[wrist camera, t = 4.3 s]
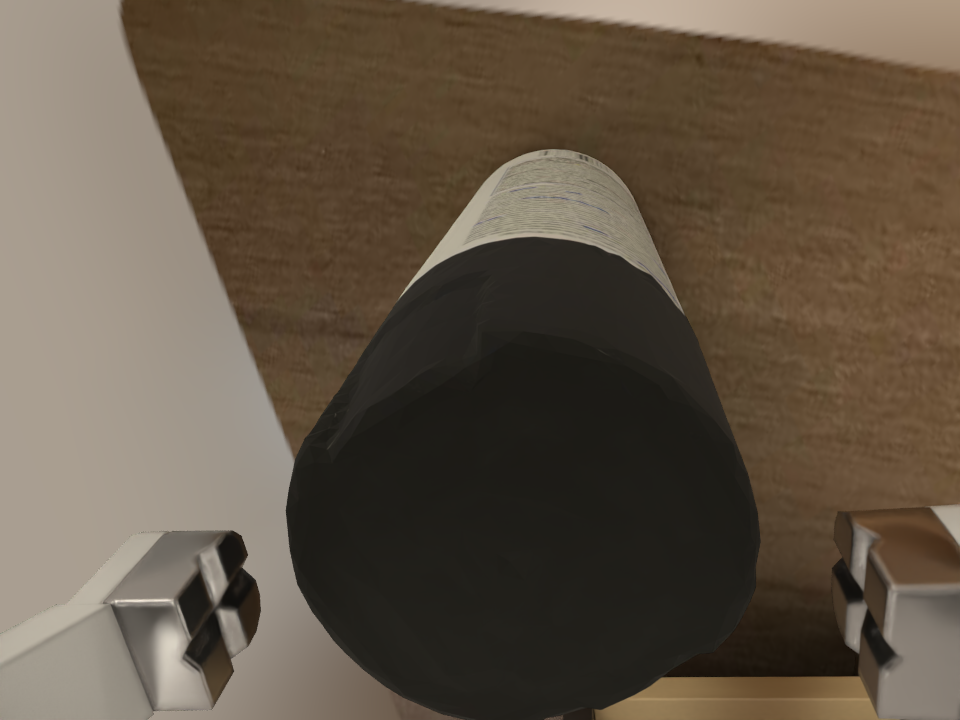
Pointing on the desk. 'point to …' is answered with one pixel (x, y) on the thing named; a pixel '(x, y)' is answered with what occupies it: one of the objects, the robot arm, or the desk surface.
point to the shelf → (743, 700)
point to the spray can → (528, 466)
